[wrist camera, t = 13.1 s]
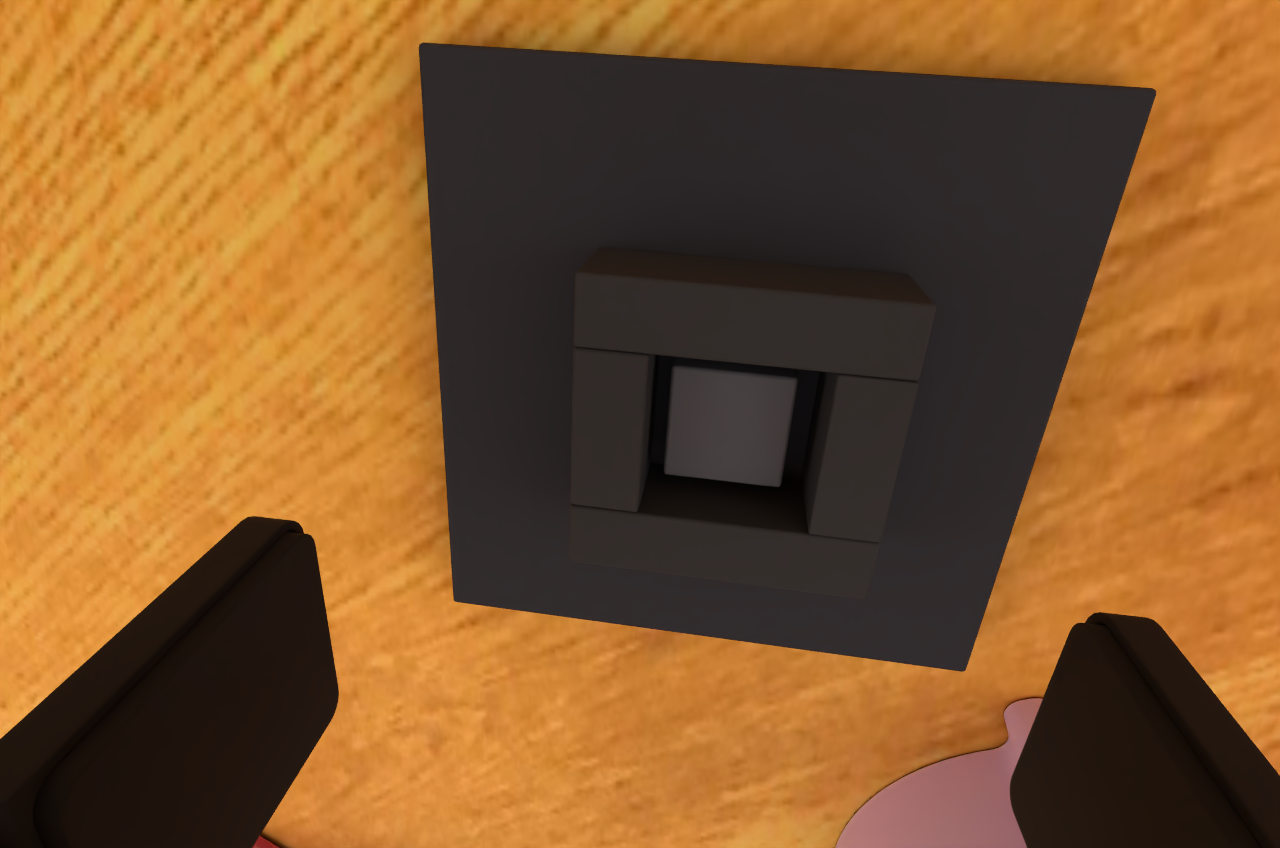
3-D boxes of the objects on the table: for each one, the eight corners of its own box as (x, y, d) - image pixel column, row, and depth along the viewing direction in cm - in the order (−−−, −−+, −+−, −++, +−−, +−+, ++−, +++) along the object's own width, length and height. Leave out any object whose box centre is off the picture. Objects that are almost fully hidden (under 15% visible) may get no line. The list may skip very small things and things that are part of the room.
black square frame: (589, 507, 19) (567, 562, 16) (597, 246, 16) (573, 271, 14) (852, 539, 18) (867, 601, 16) (911, 273, 15) (938, 305, 13)
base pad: (467, 577, 22) (431, 639, 19) (439, 45, 16) (382, 37, 13) (954, 642, 20) (982, 718, 18) (1128, 88, 14) (1208, 89, 12)
